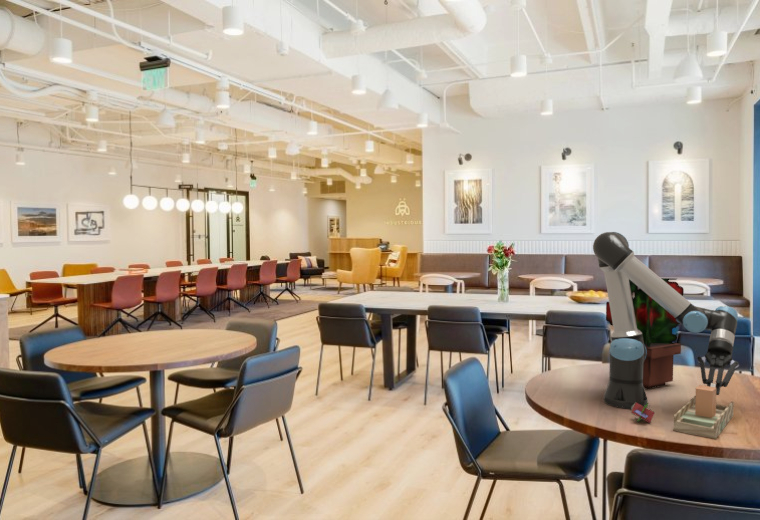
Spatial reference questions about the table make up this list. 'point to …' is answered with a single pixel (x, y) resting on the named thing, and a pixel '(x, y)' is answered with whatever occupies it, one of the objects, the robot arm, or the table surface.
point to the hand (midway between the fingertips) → (711, 401)
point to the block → (705, 401)
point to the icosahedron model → (642, 412)
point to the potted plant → (654, 335)
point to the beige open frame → (702, 420)
